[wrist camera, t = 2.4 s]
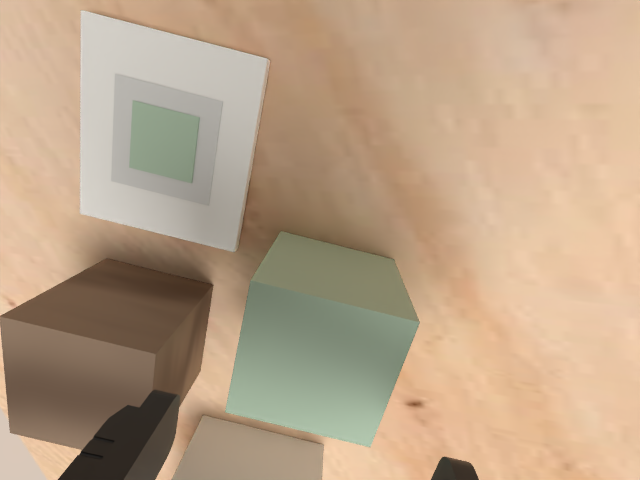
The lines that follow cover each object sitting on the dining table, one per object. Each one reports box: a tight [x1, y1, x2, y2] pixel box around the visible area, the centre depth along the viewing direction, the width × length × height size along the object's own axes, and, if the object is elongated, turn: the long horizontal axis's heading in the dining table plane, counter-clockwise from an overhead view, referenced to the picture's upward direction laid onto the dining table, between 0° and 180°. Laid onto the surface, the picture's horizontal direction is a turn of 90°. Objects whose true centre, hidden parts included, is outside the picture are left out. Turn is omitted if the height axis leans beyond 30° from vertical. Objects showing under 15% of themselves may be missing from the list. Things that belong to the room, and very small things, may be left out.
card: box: [80, 10, 270, 252], centre depth 15 cm, size 9×8×1 cm
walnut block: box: [0, 259, 213, 450], centre depth 16 cm, size 6×6×6 cm
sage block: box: [225, 231, 420, 447], centre depth 15 cm, size 6×6×6 cm
